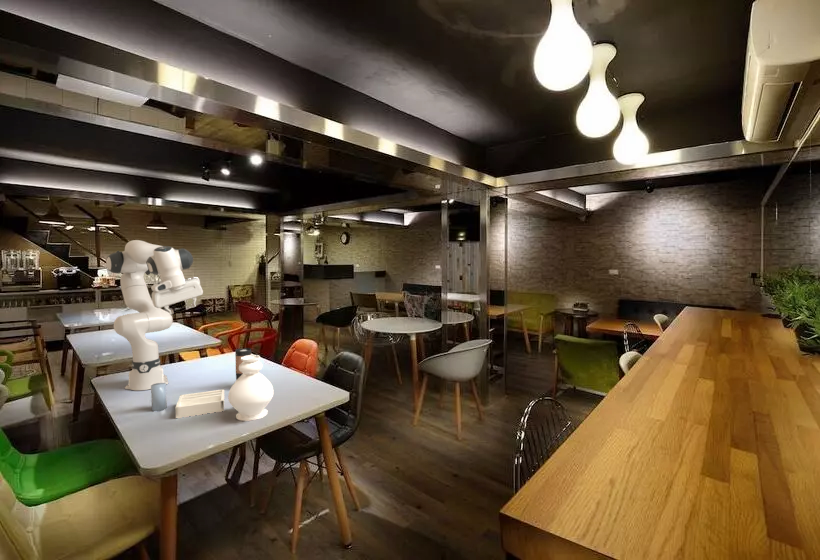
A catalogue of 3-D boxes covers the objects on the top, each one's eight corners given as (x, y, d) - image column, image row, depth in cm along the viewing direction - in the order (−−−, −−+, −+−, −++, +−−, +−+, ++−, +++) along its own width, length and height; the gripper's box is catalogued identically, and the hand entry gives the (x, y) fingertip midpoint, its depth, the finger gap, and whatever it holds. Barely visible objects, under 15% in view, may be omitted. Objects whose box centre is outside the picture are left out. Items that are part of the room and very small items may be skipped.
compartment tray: (180, 405, 172) (180, 395, 172) (224, 398, 180) (224, 389, 180) (175, 418, 158) (175, 407, 158) (223, 411, 165) (223, 400, 165)
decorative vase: (228, 426, 150) (226, 365, 149) (229, 410, 167) (228, 354, 165) (275, 419, 157) (274, 360, 156) (272, 404, 174) (271, 350, 172)
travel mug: (246, 390, 191) (245, 351, 190) (232, 389, 193) (231, 351, 191) (255, 385, 198) (254, 348, 197) (242, 384, 200) (241, 347, 199)
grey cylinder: (153, 407, 169) (152, 383, 169) (167, 405, 172) (166, 382, 171) (150, 412, 164) (149, 387, 164) (165, 410, 167) (164, 385, 166)
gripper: (195, 275, 181) (204, 302, 184) (146, 288, 167) (156, 317, 170) (200, 276, 176) (208, 303, 180) (150, 289, 162) (160, 319, 166)
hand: (183, 310), depth 175 cm, fingers open, 8 cm apart
